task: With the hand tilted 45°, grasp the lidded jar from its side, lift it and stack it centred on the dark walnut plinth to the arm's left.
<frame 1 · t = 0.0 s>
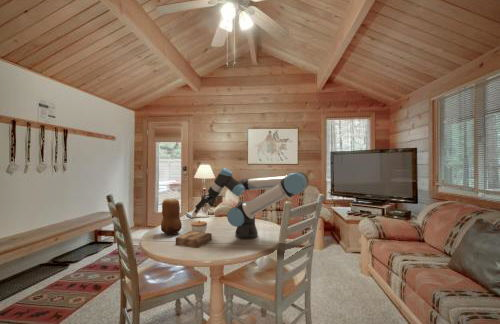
hand: (199, 214, 173), 15 cm above the table, tool tilted 35°, fingers open, 13 cm apart
plinth: (194, 242, 162), on the table
lidded jar: (199, 234, 180), on the table
butternut squash: (171, 234, 179), on the table
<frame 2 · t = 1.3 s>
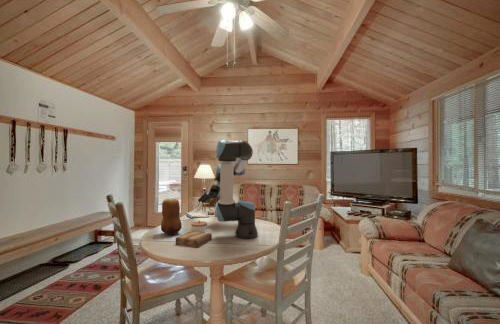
hand: (206, 210, 189), 14 cm above the table, tool tilted 45°, fingers open, 13 cm apart
nothing on the table moved.
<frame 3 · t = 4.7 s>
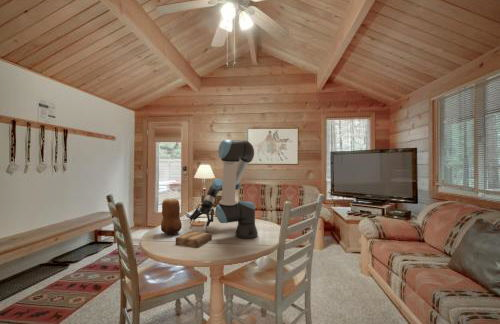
hand: (197, 229, 177), 4 cm above the table, tool tilted 45°, fingers closed on lidded jar, 11 cm apart
lidded jar: (199, 234, 180), on the table, touching gripper
everything else where it was.
when the fingers open (10 cm above the table, at t = 10.0 s): lidded jar drops 1 cm, resting on plinth.
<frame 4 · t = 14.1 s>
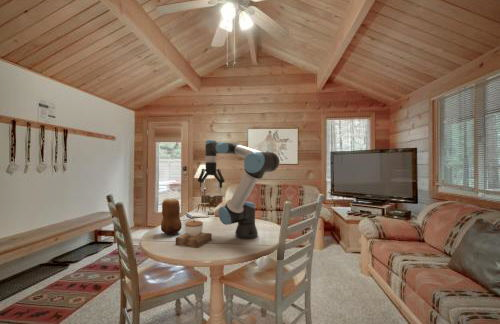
hand: (211, 192, 183), 29 cm above the table, tool pointing down, fingers open, 13 cm apart
lidded jar: (194, 235, 162), point 4 cm above the table, touching plinth
everything else where it was.
at the end: lidded jar inside the target area on the plinth (0.1 cm from its centre), point 4.1 cm above the plinth's base; lidded jar tilted 0°; the gripper is holding nothing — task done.
